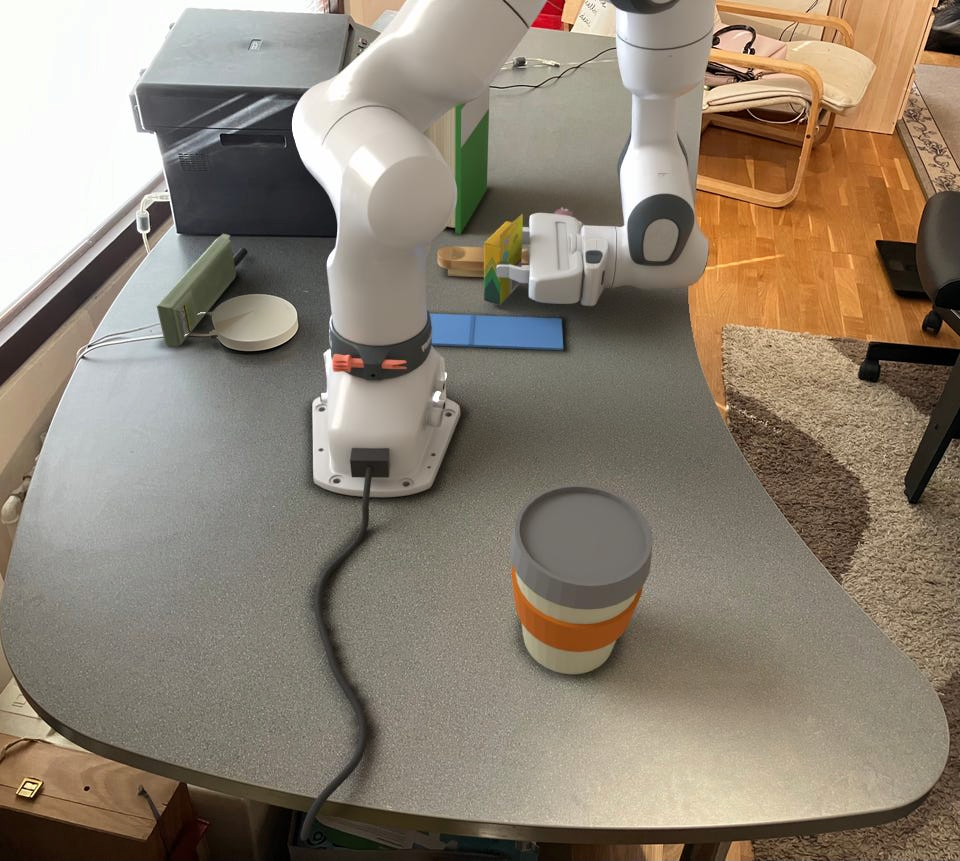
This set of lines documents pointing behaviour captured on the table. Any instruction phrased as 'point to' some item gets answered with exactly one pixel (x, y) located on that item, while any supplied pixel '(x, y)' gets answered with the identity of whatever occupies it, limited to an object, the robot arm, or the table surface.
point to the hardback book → (464, 153)
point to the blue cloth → (497, 331)
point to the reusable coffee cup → (577, 573)
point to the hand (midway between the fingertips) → (497, 253)
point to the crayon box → (502, 248)
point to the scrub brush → (467, 260)
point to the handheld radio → (198, 290)
